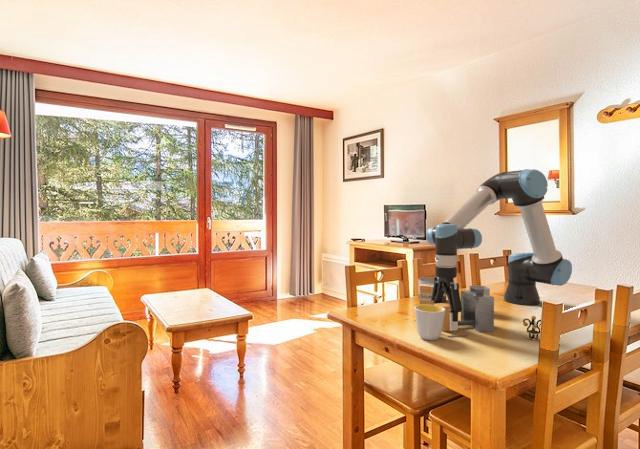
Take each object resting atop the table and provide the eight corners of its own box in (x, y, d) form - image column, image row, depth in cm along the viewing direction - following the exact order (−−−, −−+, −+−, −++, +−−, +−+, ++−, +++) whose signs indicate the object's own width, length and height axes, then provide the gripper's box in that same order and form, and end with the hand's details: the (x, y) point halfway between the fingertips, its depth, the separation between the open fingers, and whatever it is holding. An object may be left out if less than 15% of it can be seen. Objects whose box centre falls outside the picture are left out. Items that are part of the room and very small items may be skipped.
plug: (486, 323, 147) (486, 300, 146) (494, 327, 142) (494, 303, 142) (435, 327, 143) (435, 303, 143) (441, 331, 138) (442, 306, 138)
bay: (442, 321, 151) (442, 320, 151) (467, 335, 133) (467, 335, 133) (426, 322, 149) (425, 321, 149) (449, 337, 132) (449, 336, 132)
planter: (452, 301, 181) (452, 280, 181) (434, 306, 174) (434, 283, 174) (430, 296, 192) (430, 276, 192) (412, 300, 185) (412, 279, 184)
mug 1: (442, 344, 125) (442, 313, 124) (410, 340, 129) (411, 309, 129) (448, 332, 137) (449, 303, 136) (420, 328, 141) (420, 300, 141)
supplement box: (418, 317, 156) (419, 285, 156) (420, 314, 161) (420, 283, 160) (439, 319, 153) (440, 286, 153) (440, 315, 158) (440, 284, 157)
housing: (474, 321, 150) (475, 284, 149) (493, 331, 138) (494, 291, 137) (460, 322, 149) (460, 285, 148) (478, 332, 137) (478, 292, 136)
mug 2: (485, 316, 156) (486, 290, 156) (464, 313, 162) (465, 287, 161) (494, 310, 165) (495, 285, 165) (474, 307, 171) (474, 283, 170)
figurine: (520, 336, 131) (523, 314, 130) (530, 335, 133) (533, 312, 132) (533, 342, 127) (535, 319, 126) (543, 340, 129) (545, 317, 128)
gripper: (422, 262, 151) (422, 316, 152) (452, 271, 128) (452, 336, 129) (440, 261, 152) (439, 315, 153) (473, 270, 129) (472, 334, 130)
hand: (445, 325), depth 141 cm, fingers open, 11 cm apart
